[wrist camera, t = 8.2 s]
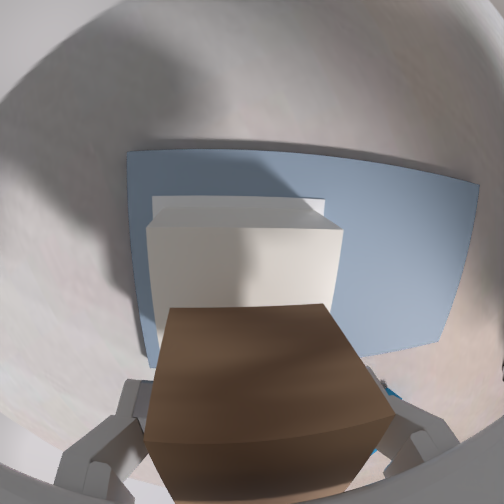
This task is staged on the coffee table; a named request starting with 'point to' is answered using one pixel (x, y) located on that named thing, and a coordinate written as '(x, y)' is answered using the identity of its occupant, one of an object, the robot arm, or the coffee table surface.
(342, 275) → the board
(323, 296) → the base block
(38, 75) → the coffee table surface
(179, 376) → the walnut cube
